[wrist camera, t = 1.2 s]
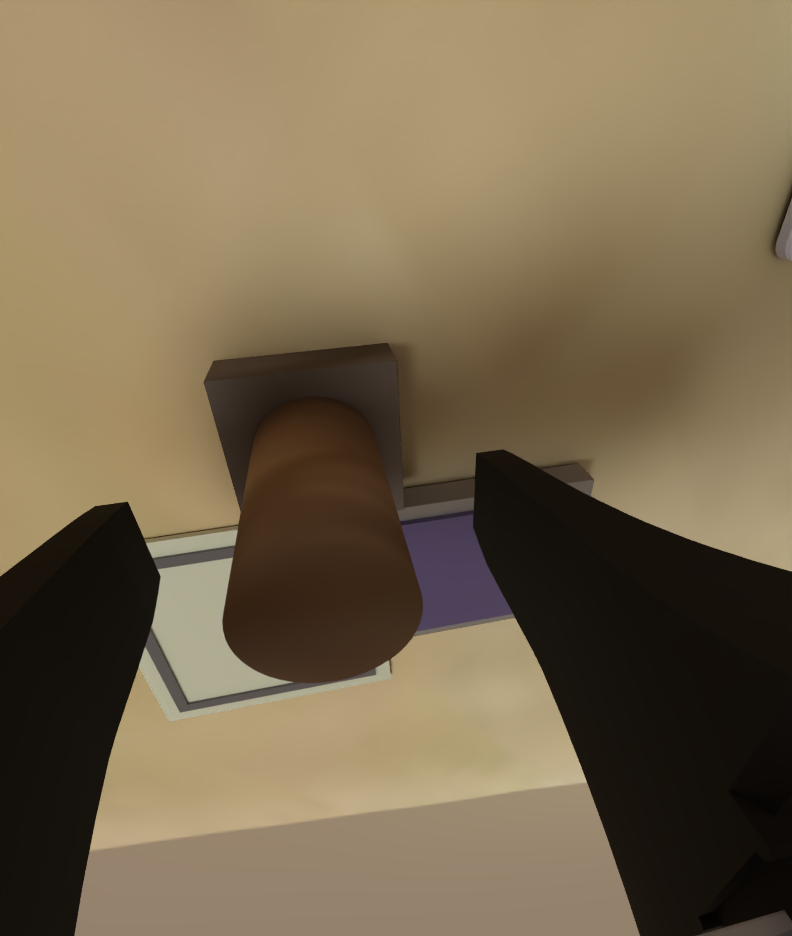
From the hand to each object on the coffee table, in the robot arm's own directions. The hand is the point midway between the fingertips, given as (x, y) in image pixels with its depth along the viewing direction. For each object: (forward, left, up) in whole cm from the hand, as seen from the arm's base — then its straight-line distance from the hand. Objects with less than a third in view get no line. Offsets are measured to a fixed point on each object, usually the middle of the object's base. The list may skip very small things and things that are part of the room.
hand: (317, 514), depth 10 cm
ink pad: (-5, +5, -4) cm, 9 cm away
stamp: (0, 0, -4) cm, 4 cm away
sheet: (+3, +7, -4) cm, 9 cm away
